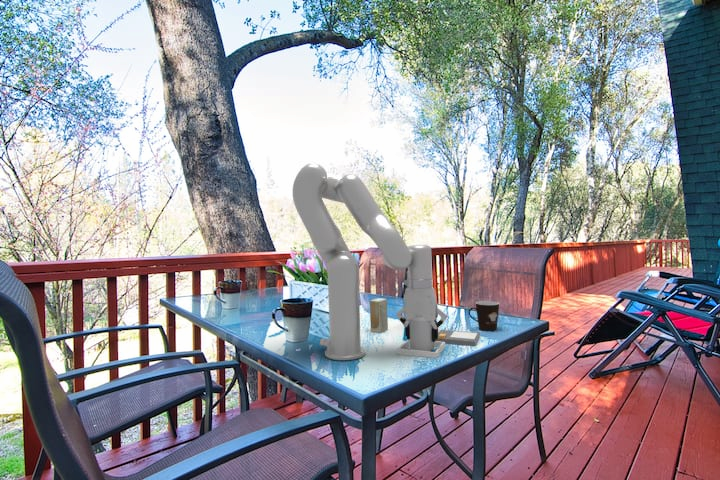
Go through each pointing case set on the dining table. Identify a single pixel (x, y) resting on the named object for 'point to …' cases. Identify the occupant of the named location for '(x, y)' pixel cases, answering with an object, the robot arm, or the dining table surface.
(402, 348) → the tray
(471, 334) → the grey flat piece
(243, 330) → the dining table surface
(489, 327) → the coffee mug
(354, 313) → the robot arm
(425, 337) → the can
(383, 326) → the skincare box
